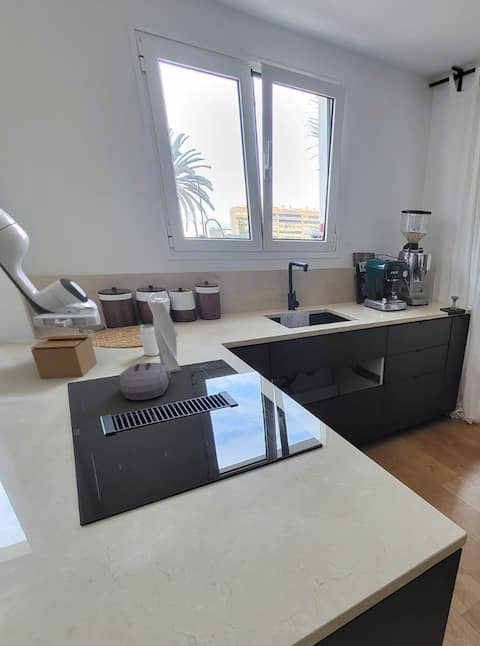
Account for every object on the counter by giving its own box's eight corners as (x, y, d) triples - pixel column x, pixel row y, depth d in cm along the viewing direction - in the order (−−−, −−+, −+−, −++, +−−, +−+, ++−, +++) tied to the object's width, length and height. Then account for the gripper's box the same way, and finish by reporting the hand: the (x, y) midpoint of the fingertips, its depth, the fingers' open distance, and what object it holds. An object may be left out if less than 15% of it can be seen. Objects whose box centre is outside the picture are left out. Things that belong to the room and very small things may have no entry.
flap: (50, 337, 145) (50, 336, 145) (89, 335, 148) (89, 334, 148) (40, 339, 138) (40, 338, 138) (81, 338, 142) (81, 337, 141)
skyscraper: (155, 368, 149) (140, 293, 137) (177, 364, 154) (164, 291, 142) (163, 374, 143) (148, 296, 132) (185, 370, 148) (173, 294, 137)
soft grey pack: (125, 382, 136) (116, 405, 119) (120, 359, 132) (110, 380, 115) (173, 377, 141) (170, 399, 124) (168, 355, 138) (166, 374, 121)
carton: (58, 364, 150) (49, 336, 145) (97, 362, 153) (89, 334, 148) (40, 378, 137) (30, 347, 132) (82, 376, 140) (74, 345, 135)
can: (148, 357, 161) (142, 328, 156) (142, 353, 165) (136, 325, 160) (164, 354, 165) (159, 326, 160) (158, 350, 169) (152, 323, 164)
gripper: (40, 308, 148) (22, 316, 136) (101, 307, 153) (89, 315, 141) (45, 325, 150) (27, 334, 138) (105, 323, 155) (93, 332, 143)
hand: (59, 324), depth 140 cm, fingers closed
